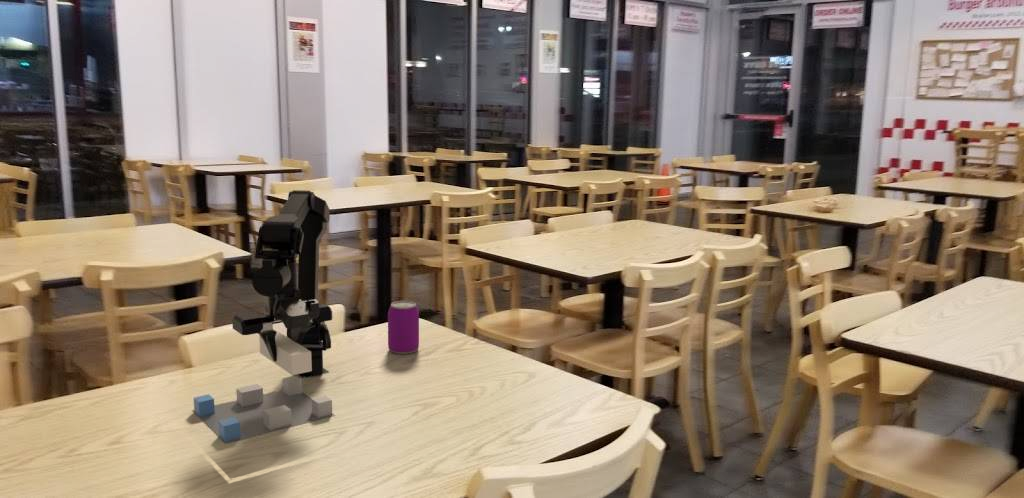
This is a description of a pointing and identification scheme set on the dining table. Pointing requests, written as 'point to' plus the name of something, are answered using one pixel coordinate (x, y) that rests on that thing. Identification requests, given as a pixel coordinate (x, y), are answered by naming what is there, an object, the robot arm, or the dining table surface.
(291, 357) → the long white plank
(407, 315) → the beverage can
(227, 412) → the miniature block city
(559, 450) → the dining table surface
